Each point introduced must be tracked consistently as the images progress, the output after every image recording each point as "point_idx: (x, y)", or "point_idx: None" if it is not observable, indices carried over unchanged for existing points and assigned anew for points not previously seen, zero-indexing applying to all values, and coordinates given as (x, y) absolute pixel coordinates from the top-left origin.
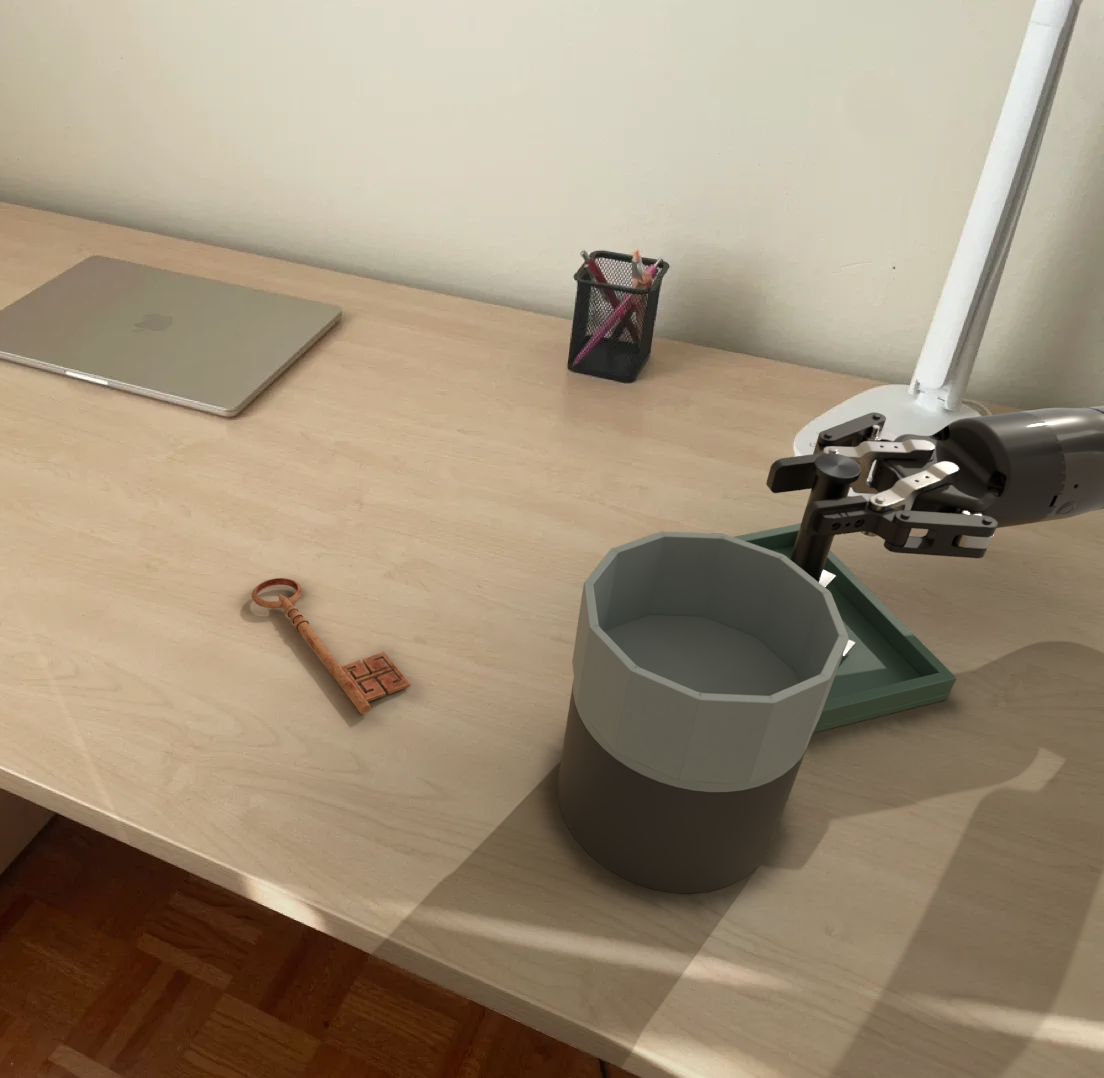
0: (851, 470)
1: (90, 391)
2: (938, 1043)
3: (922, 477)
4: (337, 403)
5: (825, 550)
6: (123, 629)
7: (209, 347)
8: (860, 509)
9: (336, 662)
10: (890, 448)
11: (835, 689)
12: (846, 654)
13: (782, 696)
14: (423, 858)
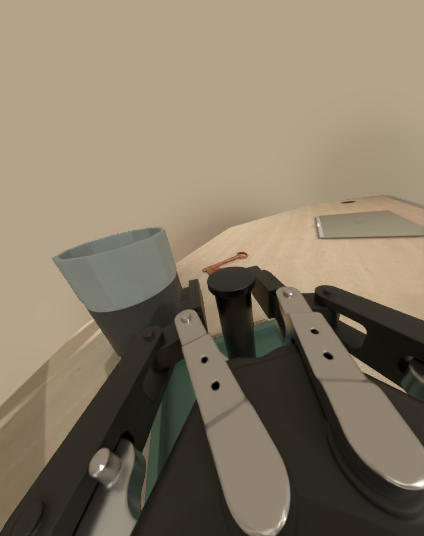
0: (220, 284)
1: (312, 226)
2: (14, 399)
3: (213, 373)
4: (350, 246)
5: (227, 353)
6: (230, 247)
7: (357, 228)
8: (187, 309)
9: (217, 264)
10: (313, 343)
11: (183, 420)
12: None
13: (64, 251)
14: None
